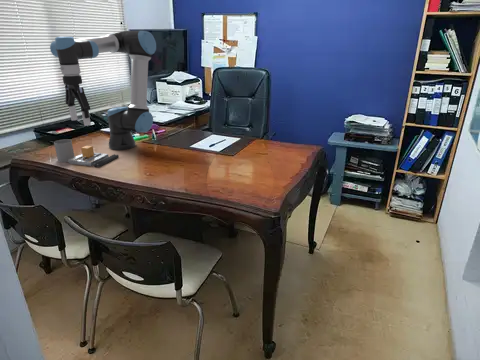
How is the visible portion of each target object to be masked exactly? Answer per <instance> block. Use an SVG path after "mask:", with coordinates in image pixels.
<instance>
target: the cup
mask: <svg viewBox="0 0 480 360" xmlns="http://www.w3.org/2000/svg"><path fill="white" fill-rule="evenodd" d="M53 144H54V149H55V154H56V158H57V162H59V163H69V162H68V160H69V159H71V158H73V157H76V156H75V153H74V146H73V142H72V139H68V138H67V139H64V138H63V139H59V140H55V141H54V142H53Z"/></svg>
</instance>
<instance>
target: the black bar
mask: <svg viewBox="0 0 480 360" xmlns="http://www.w3.org/2000/svg"><path fill="white" fill-rule="evenodd" d="M115 159H119V154H115V153H114V154H111V155H109V157H108V158H105V159H103V160H101V161H99V162H97V163H95V164H94V165H93V167H95V168H101V167H102V166H104V165H106V164H108V163H110V162H112V161H113V160H115Z"/></svg>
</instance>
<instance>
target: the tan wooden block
mask: <svg viewBox="0 0 480 360" xmlns="http://www.w3.org/2000/svg"><path fill="white" fill-rule="evenodd" d="M80 149H81V154H82V156H83V157H87V158H89V157H91V156H94V153H95V152H94V146H93V145H85V146H82V147H80Z"/></svg>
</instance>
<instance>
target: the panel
mask: <svg viewBox="0 0 480 360" xmlns="http://www.w3.org/2000/svg"><path fill="white" fill-rule="evenodd" d="M108 157H110V155H109V154H108V153H102V152H94V156H91V157H89V158H87V157H83V156H82V153H80V154H77V155H76V156H75V157H73V158H71V159H69V160H68V162H67V163H68V164H71V165H79V166H86V167H94V164H95V163H97V162H99V161H101V160H103V159H105V158H108Z"/></svg>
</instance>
